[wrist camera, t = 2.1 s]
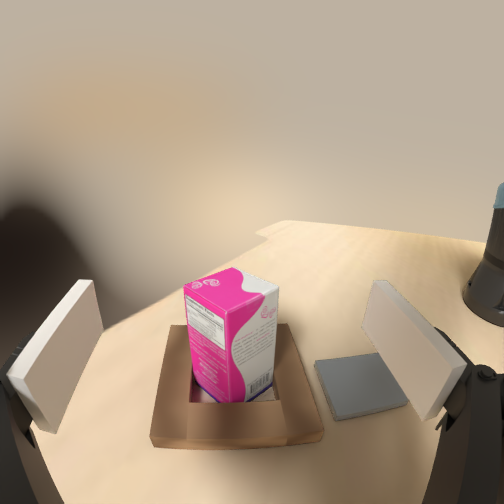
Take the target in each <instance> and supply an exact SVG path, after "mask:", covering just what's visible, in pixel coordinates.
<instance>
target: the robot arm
mask: <svg viewBox="0 0 504 504" xmlns="http://www.w3.org/2000/svg"><path fill="white" fill-rule="evenodd" d="M493 208H494V213H493V218H492V223H491V228H490V232H489V236H488V240H487V244H486V248H485V252H484V256H483V259H482V261H481V262H480V264H479V266H478V267H477V269H476V270H475V272H474V273H473V275H472V276H471V278H470V280H469V281H468V283H467V285H466V287H465V290H464V293H463V299H464V301H465V303H466V305H467V306H468V307H469V308H470V309H471V310H472V311H473V312H474V313H476V314H477V315H478V316H480V317H482V318H483V319H485V320H487V321H489V322H491V323H493V324H496V325H499V326H502V327H504V183H502V184H501V185H500V186H499V187H498V190H497V195H496V200H495V204H494V206H493ZM361 328H362V329H363V331H364V332H365V334H366V335H367V337H368V338H369V340H370V341H371V343H372V344H373V346H374V347H375V349H376V350H377V352H378V353H379V355H380V356H381V358H382V359H383V361H384V362H385V364H386V365H387V367H388V368H389V370H390V371H391V373H392V374H393V376H394V377H395V379H396V381H397V382H398V384H399V385H400V387H401V388H402V390H403V392H404V393H405V395H406V396H407V398H408V399H409V401H410V403H411V404H412V406H413V407H414V409H415V411H416V412H417V414H418V416H419V417H420V419H421V420H422V421H425V420H428V419H430V418H433V417H436V416H437V415H438V413H439V412H440V410H441V409H442V407H443V406H444V407H445V409H446V410H447V412H446V413H445V415H444V416H443V418H442V419H441V421H440V422H439V424H438V425H437V427H436V429H435V430H438V429H439V427H440V426H441V425H442V428H441V434H440V439H439V443H438V448H437V452H436V457H435V461H434V465H433V469H432V472H431V476H430V480H429V483H428V486H427V490H426V493H425V496H424V499H423V502H422V504H504V374H497V373H496V372H495V371H494V370H493V369H492V368H491V367H489V366H486V365H481V364H479V365H474V364H473V363H472V362H471V361H470V359H469V358H468V357H467V356H466V355H465V354H464V353H463V352H462V351H461V350H460V349H459V348H458V347H456V344H455V343H454V342H453V341H451V339H450V338H449V337H448V336H447V335H446V334H445V333H444V332H442V331H441V330H439V329H438V328H436V327H433V326H432V325H431V324H430V323H429V322H428V321H427V320H426V319H425V318H424V317H423V316H422V315H421V314H420V313H419V312H418V311H417V310H416V309H415V308H414V307H413V306H412V305H411V304H410V303H409V302H408V301H407V300H406V299H405V298H404V297H403V296H402V295H401V294H400V293H399V292H398V291H397V290H396V289H395V288H394V287H393V286H392V285H391V284H390V283H389V282H388V281H387V280H375V281H373V283H372V288H371V292H370V296H369V300H368V304H367V308H366V312H365V316H364V320H363V324H362V327H361ZM103 330H104V329H103V326H102V321H101V317H100V313H99V309H98V304H97V299H96V294H95V290H94V284H93V280H78V281H77V283H76V284H75V285H74V286H73V287H72V288H71V289H70V291H69V292H68V293H67V294H66V295H65V297H64V298H63V299H62V300H61V301H60V303H59V304H58V305H57V306H56V308H55V309H54V310H53V311H52V313H51V314H50V315H49V316H48V318H47V319H46V320H45V321H44V323H43V324H42V325H41V327H40V328H39V329H38V330H37V332H31V333H30V334H29V335H27V336H26V337H24V338H23V339H22V341H21V342H20V343H19V345H18V346H17V348H16V349H15V350H14V352H13V354H12V355H11V356H10V357H9V358H8V360H7V361H6V363H5V364H4V365H3V367H2V368H1V370H0V504H64V502H63V500H62V498H61V496H60V494H59V492H58V490H57V488H56V486H55V484H54V482H53V480H52V478H51V475H50V473H49V471H48V469H47V466H46V464H45V462H44V459H43V457H42V454H41V452H40V449H39V447H38V444H37V441H36V439H35V436H34V433H33V431H32V429H31V428H30V424H31V422H32V420H33V421H34V422H35V423H36V425H37V426H38V428H39V429H40V430H43V431H47V432H50V433H53V434H56V433H57V431H58V428H59V426H60V423H61V421H62V418H63V416H64V413H65V411H66V409H67V406H68V404H69V402H70V399H71V397H72V395H73V393H74V390H75V388H76V386H77V384H78V381H79V379H80V377H81V375H82V373H83V371H84V368H85V366H86V364H87V362H88V360H89V358H90V356H91V354H92V352H93V350H94V348H95V346H96V344H97V342H98V340H99V338H100V336H101V334H102V332H103Z"/></svg>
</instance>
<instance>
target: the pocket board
mask: <svg viewBox="0 0 504 504" xmlns="http://www.w3.org/2000/svg"><path fill="white" fill-rule="evenodd" d="M193 375H194V372H193V365H192V358H191V350H190V342H189V334H188V327H187V325H171V327H170V331H169V336H168V340H167V345H166V349H165V354H164V359H163V364H162V369H161V374H160V379H159V384H158V390H157V395H156V401H155V406H154V412H153V418H152V424H151V430H150V439H151V441H152V444H153V446H154V447H158V448H172V449H193V450H233V449H254V448H268V447H279V446H288V445H297V444H304V443H311V442H317V441H320V439H321V437H322V434H323V432H324V429H323V426H322V423H321V420H320V417H319V414H318V411H317V408H316V405H315V402H314V399H313V396H312V393H311V390H310V387H309V384H308V381H307V378H306V375H305V373H304V370H303V367H302V364H301V361H300V358H299V355H298V352H297V349H296V346H295V343H294V341H293V338H292V335H291V332H290V329H289V326H288V324H277V329H276V343H275V357H274V370H273V390H274V394H275V399H276V400H273V401H258V402H235V403H192V389H193Z"/></svg>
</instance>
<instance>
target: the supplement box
mask: <svg viewBox="0 0 504 504" xmlns="http://www.w3.org/2000/svg"><path fill="white" fill-rule="evenodd" d="M183 289H184V299H185V308H186V318H187V327H188V334H189V342H190V350H191V358H192V365H193V372H194V379H195V382H196V383H197V384H198V385H199V386H200V387H201V388H202V389H203V390H205V391H206V392H207V393H208V394H209V395H210V396H211V397H213V398H214V399H215V400H216V401H217V402H218V403H235V402H250V401H251V400H253V399H254V398H255V397H257V396H258V395H260V394H261V393H262V392H264V391H265V390H267V389H268V388H269V387H271V386H272V385H273V370H274V357H275V343H276V329H277V313H278V298H279V286H278V285H275V284H273V283H270V282H268V281H265V280H263V279H260V278H258V277H255V276H253V275H251V274H249V273H246V272H244V271H242V270H240V269H238V268H235V267H231V268H229V269H226V270H224V271H221V272H218V273H215V274H213V275H210V276H207V277H205V278H202V279H199V280H196V281H194V282H191V283H188V284H185V285H184V286H183Z"/></svg>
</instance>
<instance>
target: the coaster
mask: <svg viewBox="0 0 504 504" xmlns="http://www.w3.org/2000/svg"><path fill="white" fill-rule="evenodd" d="M314 367H315V370H316V372H317V375H318V377H319V380H320V383H321V385H322V388H323V390H324V393H325V396H326V398H327V401H328V403H329V406H330V409H331V411H332V414H333V417H334V419H335V421H338V420H343V419H349V418H354V417H359V416H363V415H368V414H372V413H376V412H381V411H385V410H389V409H392V408H396V407H400V406H403V405H406V404H407V402H408V401H409V399H408V398H407V396H406V395H405V393H404V392H403V390H402V388H401V387H400V385H399V384H398V382H397V381H396V379H395V377H394V376H393V374H392V373H391V371H390V370H389V368H388V367H387V365H386V364H385V362H384V361H383V359H382V358H381V356H380V355H379V353H373V354H366V355H359V356H352V357H344V358H336V359H327V360H317V361H315V364H314Z"/></svg>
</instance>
